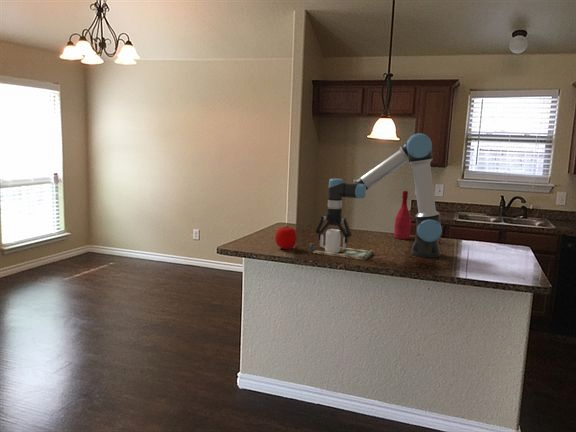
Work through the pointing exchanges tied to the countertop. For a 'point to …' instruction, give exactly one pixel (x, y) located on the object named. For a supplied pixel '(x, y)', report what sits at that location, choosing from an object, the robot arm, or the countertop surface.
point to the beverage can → (333, 240)
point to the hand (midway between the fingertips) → (332, 247)
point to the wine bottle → (403, 220)
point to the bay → (348, 254)
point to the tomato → (285, 237)
